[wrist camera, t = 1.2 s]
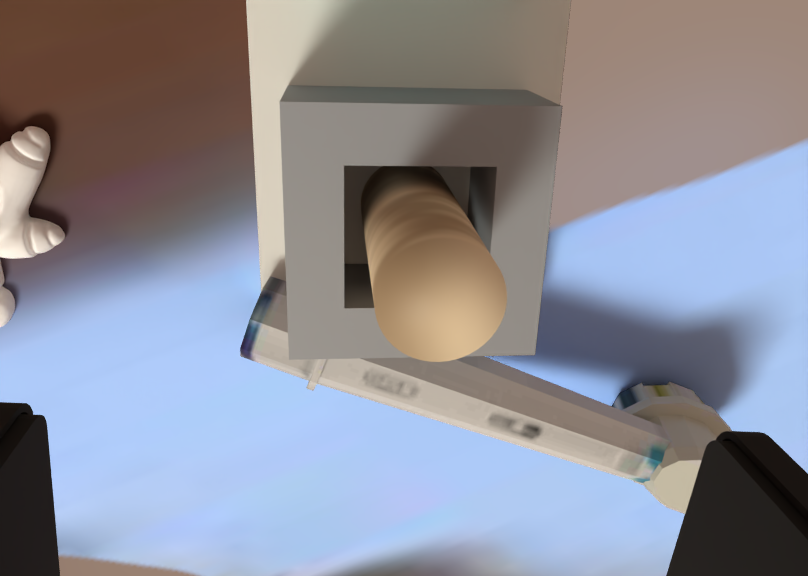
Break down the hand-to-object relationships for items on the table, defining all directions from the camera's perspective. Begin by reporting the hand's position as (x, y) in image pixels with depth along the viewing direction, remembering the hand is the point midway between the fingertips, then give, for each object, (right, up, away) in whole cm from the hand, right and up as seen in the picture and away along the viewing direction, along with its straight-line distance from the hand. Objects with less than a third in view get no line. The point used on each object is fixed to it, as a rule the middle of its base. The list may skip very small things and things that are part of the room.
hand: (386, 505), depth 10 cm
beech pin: (0, +7, +21) cm, 22 cm away
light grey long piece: (+5, -1, +27) cm, 27 cm away
